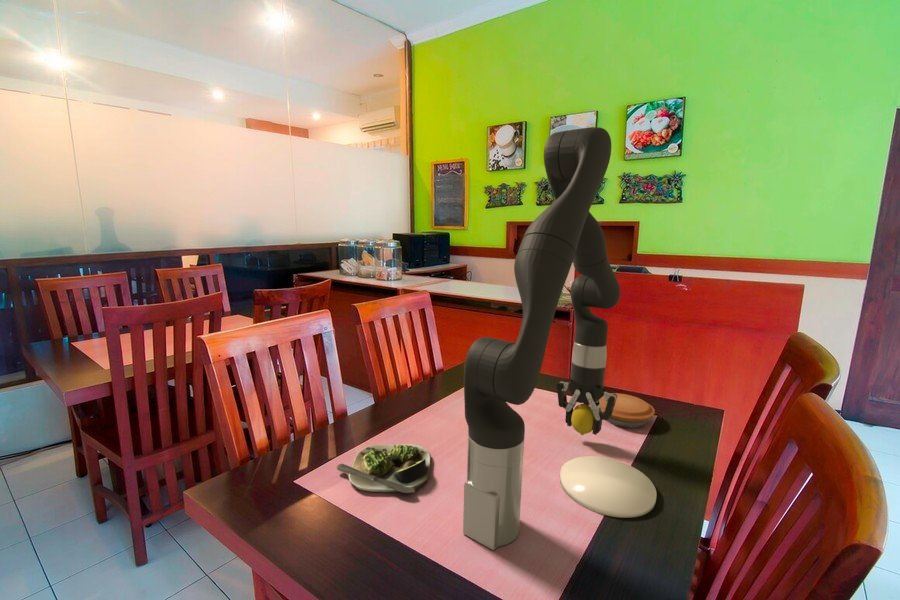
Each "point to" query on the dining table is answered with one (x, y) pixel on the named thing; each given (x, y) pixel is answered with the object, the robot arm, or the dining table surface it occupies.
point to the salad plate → (389, 468)
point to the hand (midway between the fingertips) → (582, 428)
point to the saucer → (608, 486)
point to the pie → (629, 411)
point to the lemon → (582, 419)
